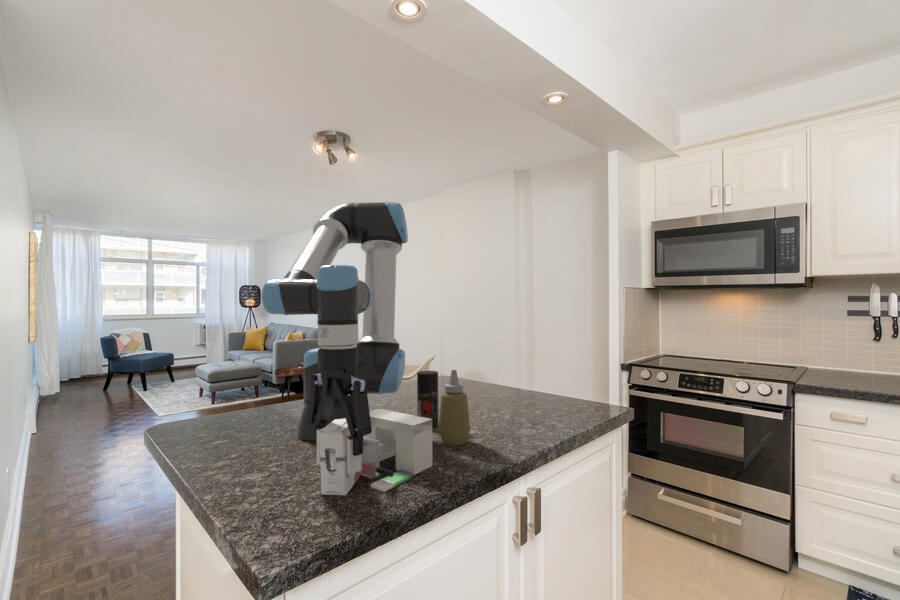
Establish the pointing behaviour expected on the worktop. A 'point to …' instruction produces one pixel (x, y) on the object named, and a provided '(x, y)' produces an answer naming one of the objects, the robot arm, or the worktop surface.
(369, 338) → the robot arm
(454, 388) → the squeeze bottle
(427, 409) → the deodorant
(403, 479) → the white and green frame
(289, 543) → the worktop surface
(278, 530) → the worktop surface
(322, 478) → the ink box
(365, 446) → the grey bar with plate
